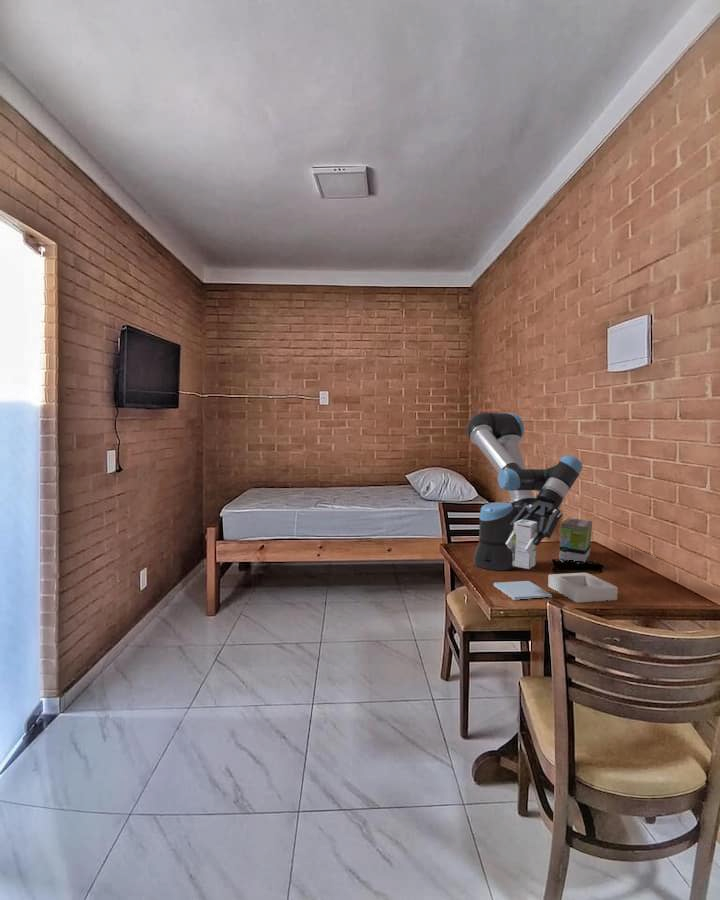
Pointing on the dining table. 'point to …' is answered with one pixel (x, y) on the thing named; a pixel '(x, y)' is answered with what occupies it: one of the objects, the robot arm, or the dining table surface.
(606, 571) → the dining table surface
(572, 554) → the tea box
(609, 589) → the white tray
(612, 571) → the dining table surface
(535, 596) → the board
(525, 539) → the syrup box
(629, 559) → the dining table surface
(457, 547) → the dining table surface
